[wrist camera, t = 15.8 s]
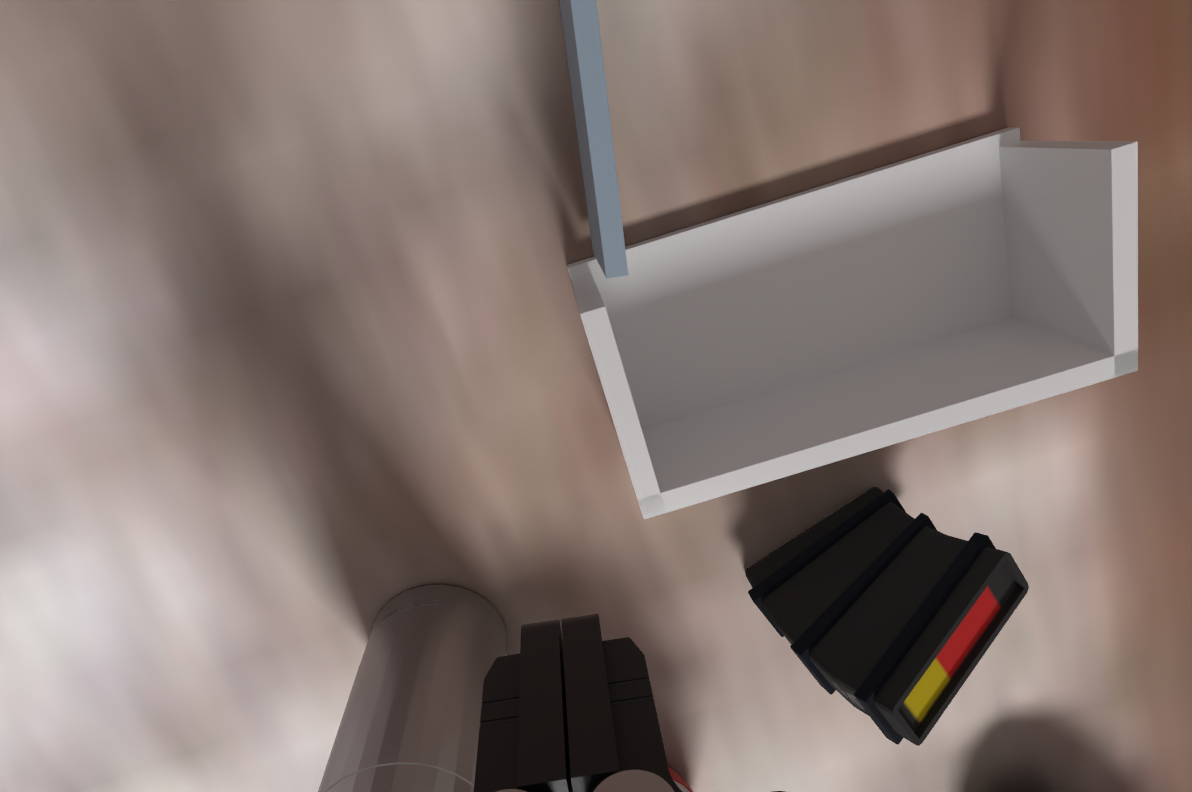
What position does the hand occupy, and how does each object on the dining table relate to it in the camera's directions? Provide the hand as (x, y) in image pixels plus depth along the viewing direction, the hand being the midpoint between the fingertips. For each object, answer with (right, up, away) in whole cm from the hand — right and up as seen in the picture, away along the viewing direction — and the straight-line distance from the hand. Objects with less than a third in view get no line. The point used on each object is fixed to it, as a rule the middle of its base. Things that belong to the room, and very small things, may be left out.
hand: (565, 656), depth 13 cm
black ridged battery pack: (+17, -4, +35) cm, 39 cm away
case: (+13, +11, +28) cm, 33 cm away
